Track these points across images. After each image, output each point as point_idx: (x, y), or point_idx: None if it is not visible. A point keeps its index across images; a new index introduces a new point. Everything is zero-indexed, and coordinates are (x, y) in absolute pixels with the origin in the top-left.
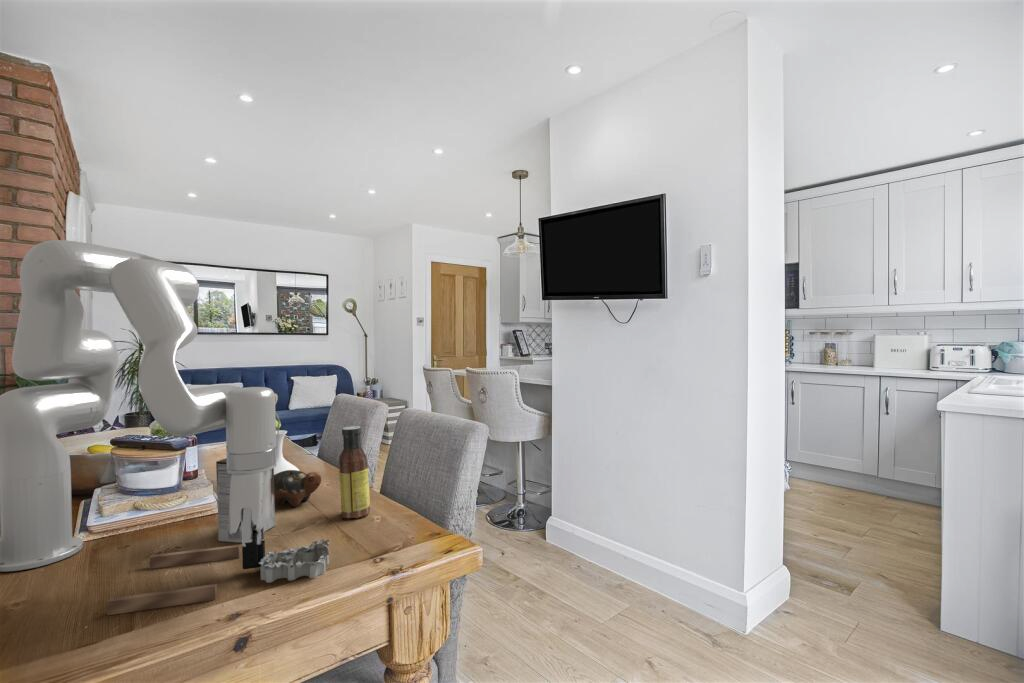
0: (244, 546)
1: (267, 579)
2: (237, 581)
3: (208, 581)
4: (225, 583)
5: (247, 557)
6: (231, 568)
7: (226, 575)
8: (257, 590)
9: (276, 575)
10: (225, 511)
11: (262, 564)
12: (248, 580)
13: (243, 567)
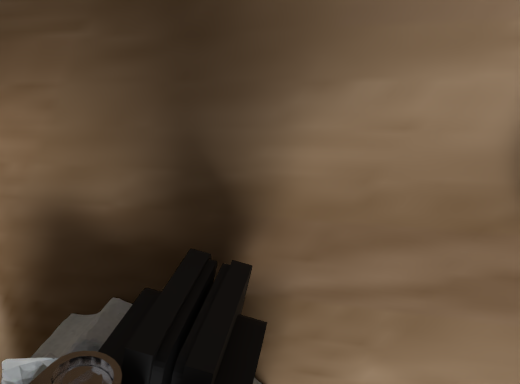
0: (67, 367)
1: (57, 328)
2: (146, 195)
3: (230, 32)
4: (149, 133)
5: (125, 318)
6: (365, 174)
7: (266, 141)
8: (3, 270)
9: None
10: None
11: None
12: (133, 246)
13: (190, 254)
